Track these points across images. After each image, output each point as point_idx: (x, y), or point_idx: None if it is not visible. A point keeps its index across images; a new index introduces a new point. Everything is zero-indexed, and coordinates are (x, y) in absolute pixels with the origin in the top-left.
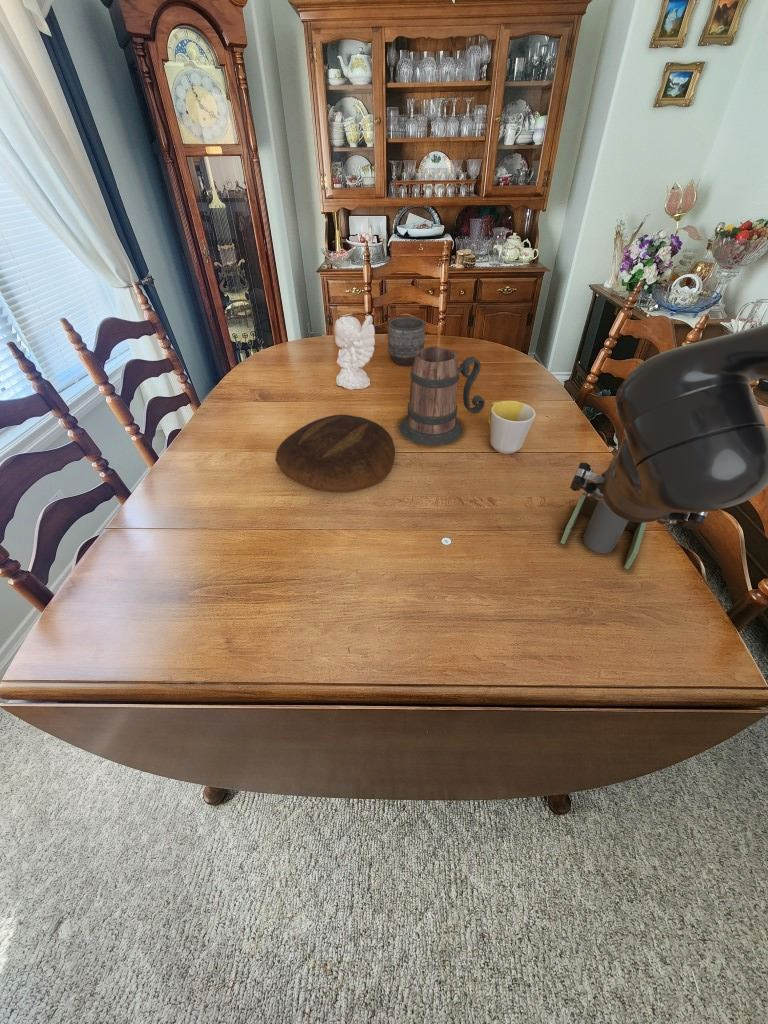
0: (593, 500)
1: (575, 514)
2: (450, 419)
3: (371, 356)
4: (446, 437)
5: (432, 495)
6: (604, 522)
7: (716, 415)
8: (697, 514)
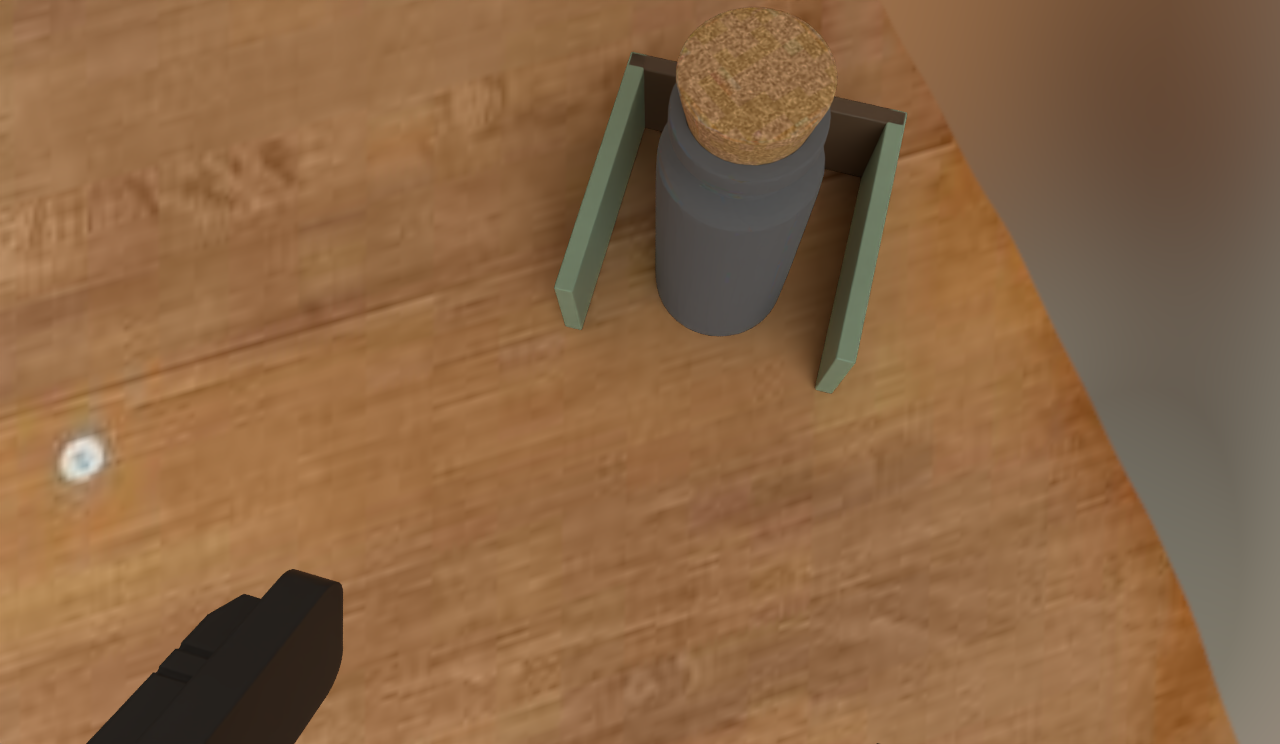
0: (311, 708)
1: (595, 200)
2: None
3: None
4: None
5: (17, 199)
6: (698, 263)
7: None
8: None
